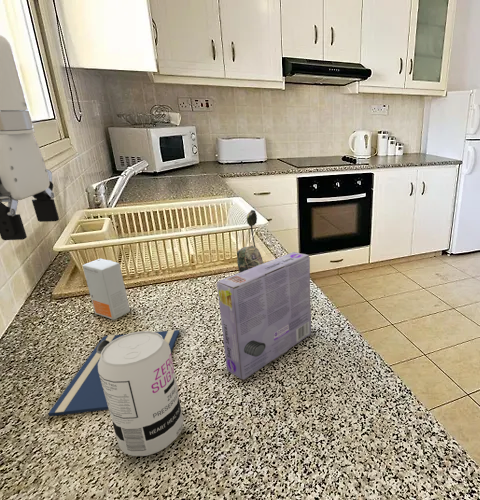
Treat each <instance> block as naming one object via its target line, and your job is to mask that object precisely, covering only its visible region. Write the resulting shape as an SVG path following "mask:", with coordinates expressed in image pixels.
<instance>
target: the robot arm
mask: <svg viewBox="0 0 480 500" xmlns="http://www.w3.org/2000/svg"><path fill="white" fill-rule="evenodd" d="M35 133H36V131H35V128H34V124H33V121H32V118H31V114H30V110H29V106H28V102H27V98H26V94H25V91H24V87H23V84H22V81H21V76H20V73H19V70H18V66H17V62H16V58H15V55H14V51H13V49H12V45H11V43H10V42H9V40H8V39H7V38H6V37H5V36H3V35H1V34H0V239H1V240H3V241H22V240H25V239H27V237H28V236H27V233H26V230H25V229H26V228H25V226H24V223H23V220H22V217H21V214H20V213H19V214H18V213H17V209H18V205H19V201H21V200H25V199H27V198H30V197H32V198H33V199H31V203H32V206H33V209H34V211H35V212H34V213H35V216H36V219H37V221H38V222H39V223H49V222H50V223H51V222H59V220H60V217H59V214H58V209H57V206H56V205H57V204H56V202H55V193H54V192H53V191H54V190H53V189H54V183H53V172H52V170H50V169H47V166H46V163H45V159H44V157H43V153H42V151H41V148H40V146H39V143H38V140H37V138H36V137H35ZM5 203H7V205H5Z"/></svg>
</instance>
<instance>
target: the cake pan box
mask: <svg viewBox="0 0 480 500" xmlns="http://www.w3.org/2000/svg"><path fill="white" fill-rule="evenodd" d="M216 288H217V295H218V296H217V297H218V305H219V313H220V321H221V322H220V323H221V331H222V340H223V348H224V355H225V357H224V358H225V364H226V371H227V372H229V373H230V374H232V375H233V376H235V377H236V378H237V379H239V380H241V381H243V382H244V381H246V380H247V379H248V378H249V377H250V376H252V375H253V374H255V373H256V372H258V371H260V370H261V369H263V368H264V367H265V366H266V365H268V364H270V363H271V362H274V361H276V360H277V359H278V358H280V357H282V356H283V355H284V354H286V353H287V352H289V350H290V349H291V348H293V347H294V346H296V345H297V344H299V343H300V342H301V341H303V340H305V339H306V338H307V337H310V336H311V335H312V305H311V257H310V255H309V254H306V253H300V252H295V251H292V252H289V253H287V254H285V255H282V256H279V257H277V258H274V259H271V260H268V261H267V262H263V264H261V265H258V266H256V267H253V268H251V269H248V270H246V271H243V272H238V273H235V274H233V275H230V276H228V277H224V278H223V279H220V280H216Z"/></svg>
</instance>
